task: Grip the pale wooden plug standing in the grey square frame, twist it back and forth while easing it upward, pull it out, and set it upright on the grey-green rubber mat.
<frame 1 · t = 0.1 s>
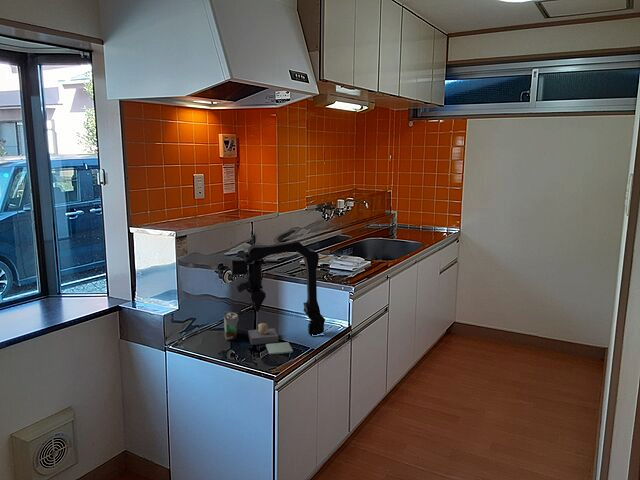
hand: (255, 308, 220), 14 cm above the countertop, tool pointing down, fingers open, 9 cm apart
food container: (232, 336, 225), on the countertop
grey square frame: (263, 339, 222), on the countertop
mat: (279, 348, 212), on the countertop
plug: (263, 332, 222), in the grey square frame
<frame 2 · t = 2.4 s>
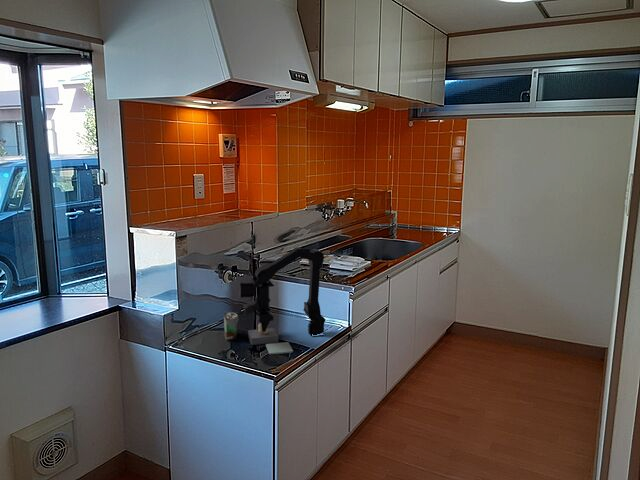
hand: (263, 329, 221), 5 cm above the countertop, tool pointing down, fingers closed on plug, 4 cm apart
plug: (263, 332, 222), in the grey square frame, touching gripper
everything else where it was.
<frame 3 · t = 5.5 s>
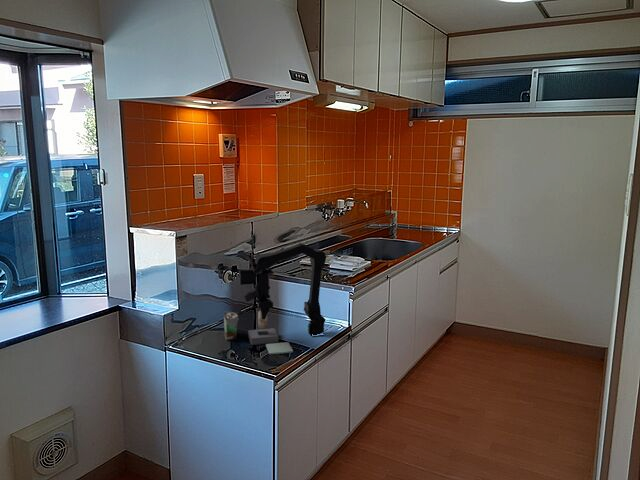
hand: (262, 317, 220), 10 cm above the countertop, tool pointing down, fingers closed on plug, 4 cm apart
plug: (262, 319, 220), point 9 cm above the countertop, touching gripper
everything else where it was.
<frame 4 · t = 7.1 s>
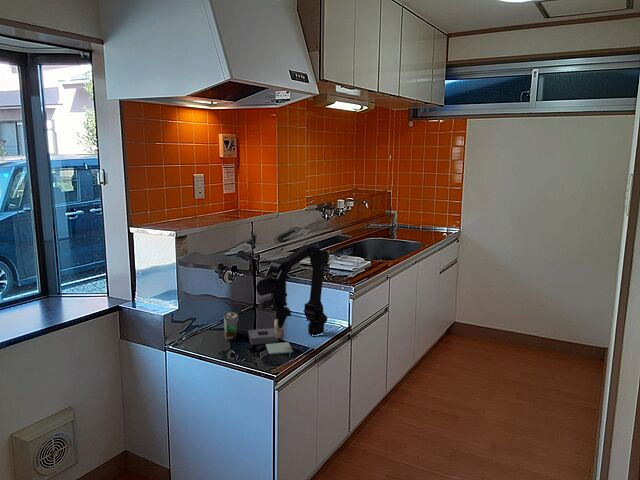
hand: (279, 326, 210), 10 cm above the countertop, tool pointing down, fingers closed on plug, 4 cm apart
plug: (279, 328, 211), point 9 cm above the countertop, touching gripper
everything else where it was.
when the fingers open (6 cm above the countertop, at t = 8.6 s): plug stays where it is, resting on mat.
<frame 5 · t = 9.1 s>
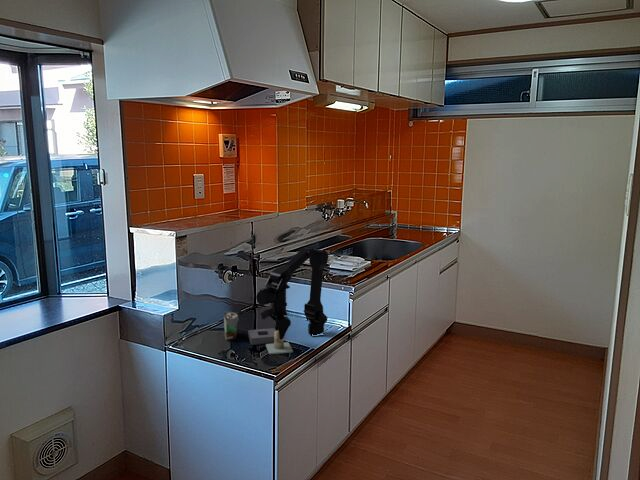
hand: (279, 335, 211), 6 cm above the countertop, tool pointing down, fingers open, 9 cm apart
plug: (279, 339, 211), on the mat, point 4 cm above the countertop
everything else where it was.
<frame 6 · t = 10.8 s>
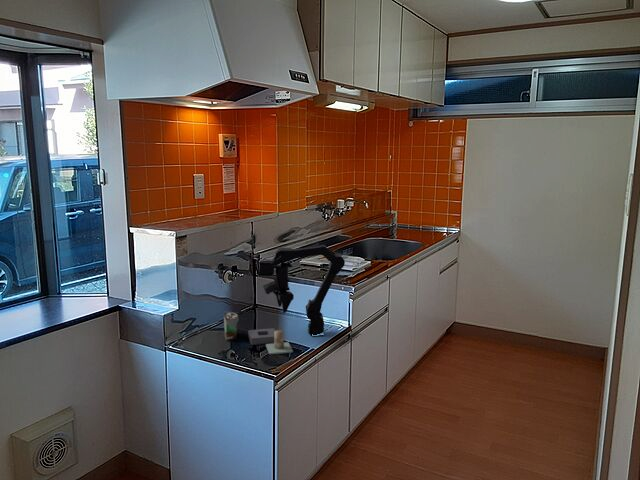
hand: (282, 309, 226), 12 cm above the countertop, tool pointing down, fingers open, 9 cm apart
nothing on the countertop moved.
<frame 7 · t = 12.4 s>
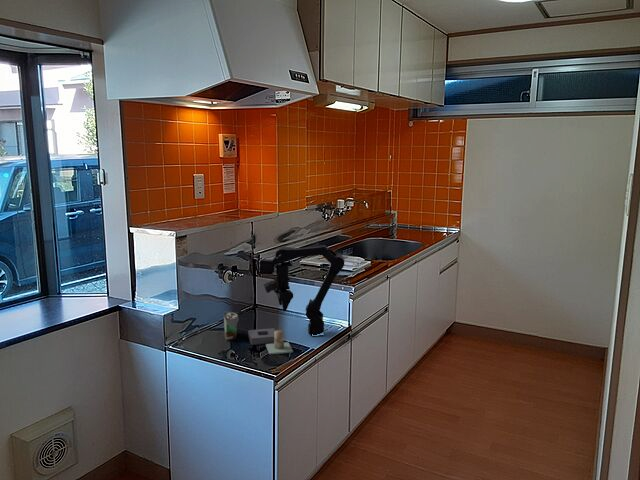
hand: (282, 308, 228), 12 cm above the countertop, tool pointing down, fingers open, 9 cm apart
nothing on the countertop moved.
at the end: plug inside the target area on the mat (0.1 cm from its centre), point 4.1 cm above the mat's base; plug tilted 0°; the gripper is holding nothing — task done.
